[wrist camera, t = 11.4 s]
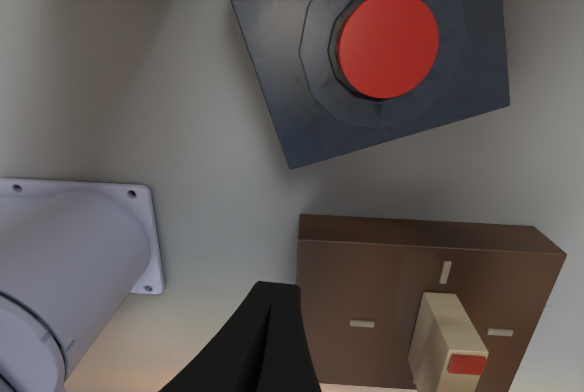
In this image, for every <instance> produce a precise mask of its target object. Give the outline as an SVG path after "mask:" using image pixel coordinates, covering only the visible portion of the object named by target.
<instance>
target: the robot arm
mask: <svg viewBox="0 0 584 392" xmlns="http://www.w3.org/2000/svg"><path fill="white" fill-rule="evenodd" d="M18 185H19V186H20V187H21V189H22V190H21V189H20V188H19V187H18ZM131 190H132V191H134V192H135V193H136V196H134V195H133V194H131ZM148 286H150V287H152V288H149V287H148ZM164 289H165V283H164V277H163V270H162V263H161V257H160V250H159V243H158V237H157V230H156V223H155V217H154V210H153V203H152V197H151V192H150V190H149V188H148V187H146V186H144V185H134V184H114V183H95V182H75V181H55V180H35V179H15V178H0V392H66V390H65V388H64V382H65V381H66V380H67V378H68V377H69V375H70V374H71V373H72V371H73V370H74V368H75V367H76V366H77V364H78V363H79V361H80V360H81V359H82V357H83V356H84V355H85V353H86V352H87V350H88V349H89V348H90V346H91V345H92V343H93V342H94V341H95V339H96V338H97V337H98V335H99V334H100V332H101V331H102V330H103V328H104V327H105V325H106V324H107V323H108V321H109V320H110V319H111V317H112V316H113V314H114V313H115V312H116V310H117V309H118V307H119V306H120V305H121V303H122V302H123V300H124V299H125V298H126V296H127V295H128V294H129V293H140V294H156V295H157V294H161V293H162V292H163V291H164ZM158 392H322V391H321V388H320V385H319V382H318V379H317V376H316V373H315V369H314V366H313V362H312V359H311V355H310V352H309V348H308V343H307V339H306V334H305V330H304V325H303V319H302V311H301V288H300V287H299V286H298V285H292V284H283V283H273V282H264V281H258V282H257V283H255V285H254V286H253V288H252V289H251V291H250V292H249V293H248V295H247V296H246V298H245V299H244V300H243V302H242V303H241V305H240V306H239V307H238V308H237V310H236V311H235V312H234V314H233V315H232V316H231V317H230V318H229V320H228V321H227V322H226V323H225V325H224V326H223V327H222V328H221V329H220V331H219V332H218V333H217V334H216V335H215V336H214V337H213V338H212V339H211V341H210V342H209V343H208V344H207V345H206V346H205V347H204V348H203V349H202V350H201V351H200V353H199V354H198V355H197V356H196V357H195V358H194V359H193V360H192V361H191V362H190V363H189V364H188V365H187V366H186V367H185V368H184V369H183V370H182V371H181V372H179V373H178V374H177V375H176V376H175V377H174V378H173V379H172V380H171V381H170V382H169V383H168V384H166V385H165V386H164V387H163V388H162V389H161V390H160V391H158Z"/></svg>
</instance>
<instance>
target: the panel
mask: <svg viewBox="0 0 584 392" xmlns="http://www.w3.org/2000/svg"><path fill="white" fill-rule="evenodd" d="M566 256H567V254H566V253H565V252H564V251H563V250H562V249H560V248H559V247H558V246H557V245H556V244H554V243H553V242H552V241H551V240H550V239H548V238H547V237H546V236H545V235H544V234H542V233H541V232H540V231H539V230H538V229H537V228H535V227H534V226H518V225H499V224H480V223H461V222H442V221H423V220H404V219H384V218H365V217H346V216H327V215H308V214H300V220H299V235H298V254H297V276H296V285H298V286H299V287H300V288H301V311H302V319H303V325H304V330H305V334H306V339H307V343H308V348H309V352H310V355H311V359H312V362H313V366H314V369H315V373H316V376H317V379H318V382H319V383H326V384H340V385H355V386H369V387H384V388H398V389H413V390H417V388H416V384H415V381H414V378H413V374H412V371H411V368H410V364H409V361H408V355H409V351H410V346H411V342H412V338H413V334H414V330H415V325H416V321H417V317H418V313H419V309H420V305H421V300H422V296H423V292H432V293H449V294H456V296H457V297H458V299H459V301H460V303H461V304H462V306H463V308H464V310H465V311H466V313H467V315H468V317H469V319H470V320H471V322H472V324H473V326H474V327H475V329H476V331H477V333H478V334H479V336H480V338H481V340H482V342H483V343H484V345H485V347H486V349H487V350H488V353H489V354H488V356H487V362H486V364H485V367H484V370H483V372H482V375H480V378H479V380H478V383H477V386H476V389H475V391H474V392H508V391H509V389H510V386H511V384H512V382H513V379H514V377H515V375H516V372H517V370H518V368H519V365H520V363H521V361H522V358H523V356H524V354H525V351H526V349H527V347H528V344H529V342H530V340H531V338H532V335H533V333H534V331H535V328H536V326H537V324H538V321H539V319H540V317H541V314H542V312H543V310H544V307H545V305H546V303H547V300H548V298H549V296H550V293H551V291H552V289H553V287H554V284H555V282H556V280H557V277H558V275H559V273H560V270H561V268H562V266H563V263H564V261H565V259H566Z"/></svg>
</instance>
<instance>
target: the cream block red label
mask: <svg viewBox="0 0 584 392" xmlns="http://www.w3.org/2000/svg"><path fill="white" fill-rule="evenodd" d="M488 354H489V353H488V350H487V349H486V347H485V345H484V343H483V342H482V340H481V338H480V336H479V334H478V333H477V331H476V329H475V327H474V326H473V324H472V322H471V320H470V319H469V317H468V315H467V313H466V311H465V310H464V308H463V306H462V304H461V303H460V301H459V299H458V297H457V296H456V294H449V293H432V292H423V296H422V300H421V305H420V309H419V313H418V317H417V321H416V325H415V330H414V334H413V338H412V342H411V346H410V351H409V355H408V361H409V364H410V368H411V371H412V374H413V378H414V381H415V384H416V388H417V391H418V392H474V391H475V389H476V386H477V383H478V380H479V378H480V375H482V372H483V370H484V367H485V364H486V362H487V356H488Z"/></svg>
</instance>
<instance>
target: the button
mask: <svg viewBox="0 0 584 392" xmlns="http://www.w3.org/2000/svg"><path fill="white" fill-rule="evenodd" d="M438 45H439V34H438V27H437V23H436V21H435V18H434V16H433V14H432V12H431V11H430V9H429V8H428V7H427V6H426V5H425V4H424V3H423V2H422V1H421V0H366V1H364V2H363V3H362V4H360V5H359V6H358V7H356V8H355V9H354V10H353V11H352V12H351V13H350V14H349V15H348V17H347V18H346V19H345V21H344V23H343V24H342V26H341V29H340V31H339V34H338V37H337V43H336V57H337V62H338V65H339V68H340V70H341V72H342V74H343V75H344V77H345V78H346V79H347V80H348V81H349V82H350V84H351V85H352V86H353V87H354V88H355V89H357V90H358V91H360V92H361V93H363V94H365V95H367V96H370V97H374V98H393V97H397V96H400V95H402V94H405V93H407V92H408V91H410V90H412V89H413V88H415V87H416V86H417V85H418V84H419V83H420V82H421V81H422V80H423V79H424V78H425V77H426V75H427V74H428V73H429V71H430V69H431V67H432V66H433V63H434V61H435V58H436V55H437V51H438Z"/></svg>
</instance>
